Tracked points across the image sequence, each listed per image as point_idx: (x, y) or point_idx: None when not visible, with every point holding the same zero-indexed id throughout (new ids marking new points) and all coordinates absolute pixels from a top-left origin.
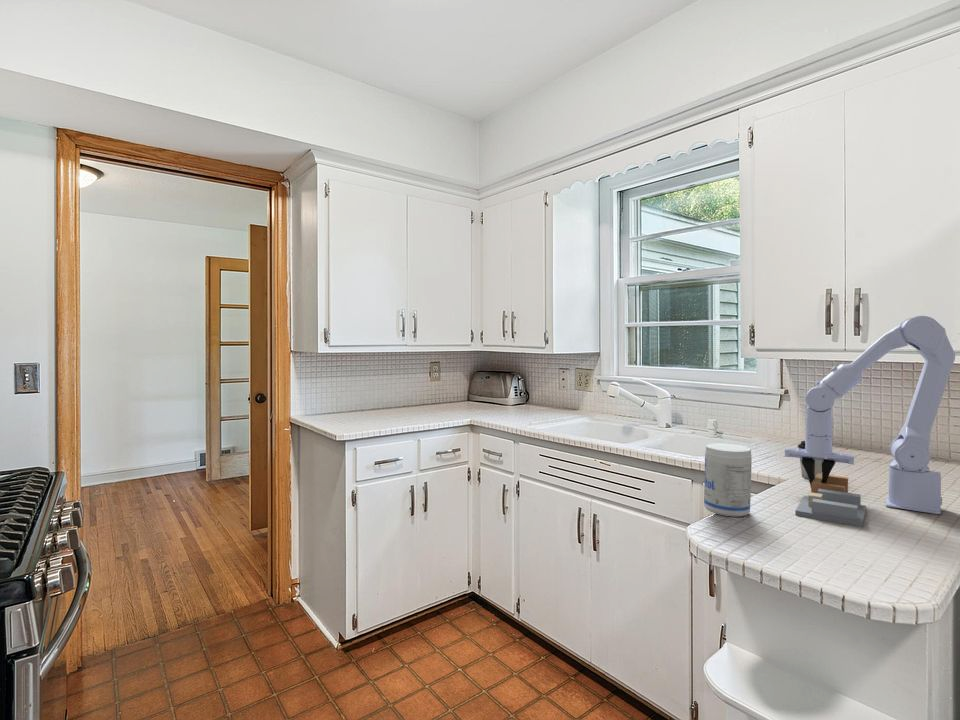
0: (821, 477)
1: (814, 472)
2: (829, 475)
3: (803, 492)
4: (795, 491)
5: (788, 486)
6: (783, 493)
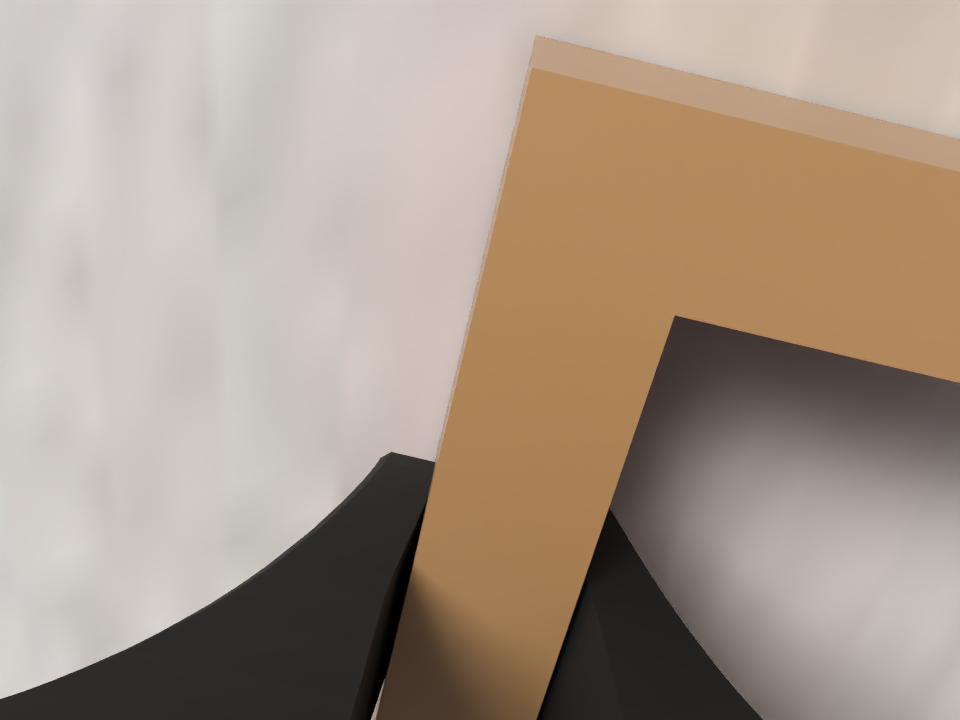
0: (557, 561)
1: (378, 615)
2: (853, 220)
3: (278, 414)
4: (158, 400)
5: (8, 55)
6: (13, 584)
